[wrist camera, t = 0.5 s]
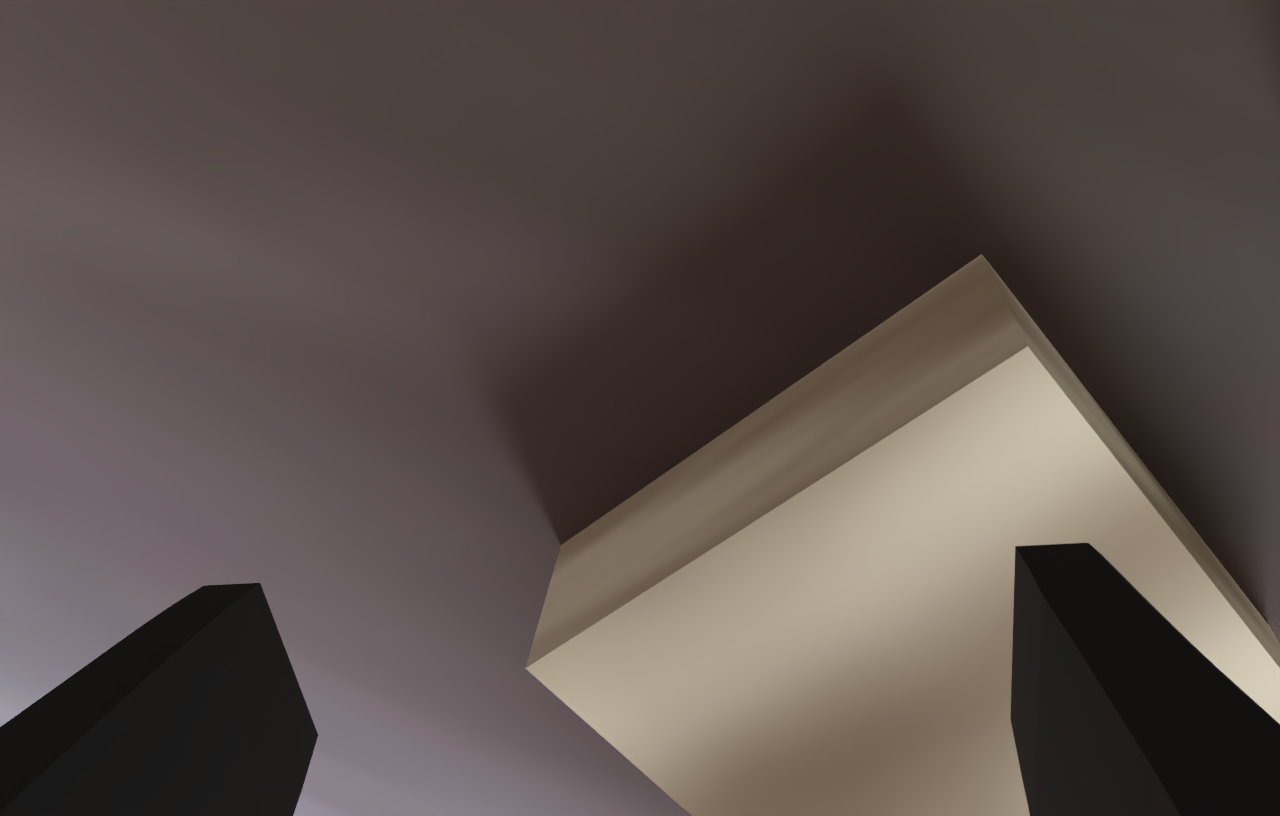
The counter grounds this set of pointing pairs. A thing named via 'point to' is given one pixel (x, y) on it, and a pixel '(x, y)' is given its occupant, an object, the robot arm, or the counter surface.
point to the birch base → (870, 576)
